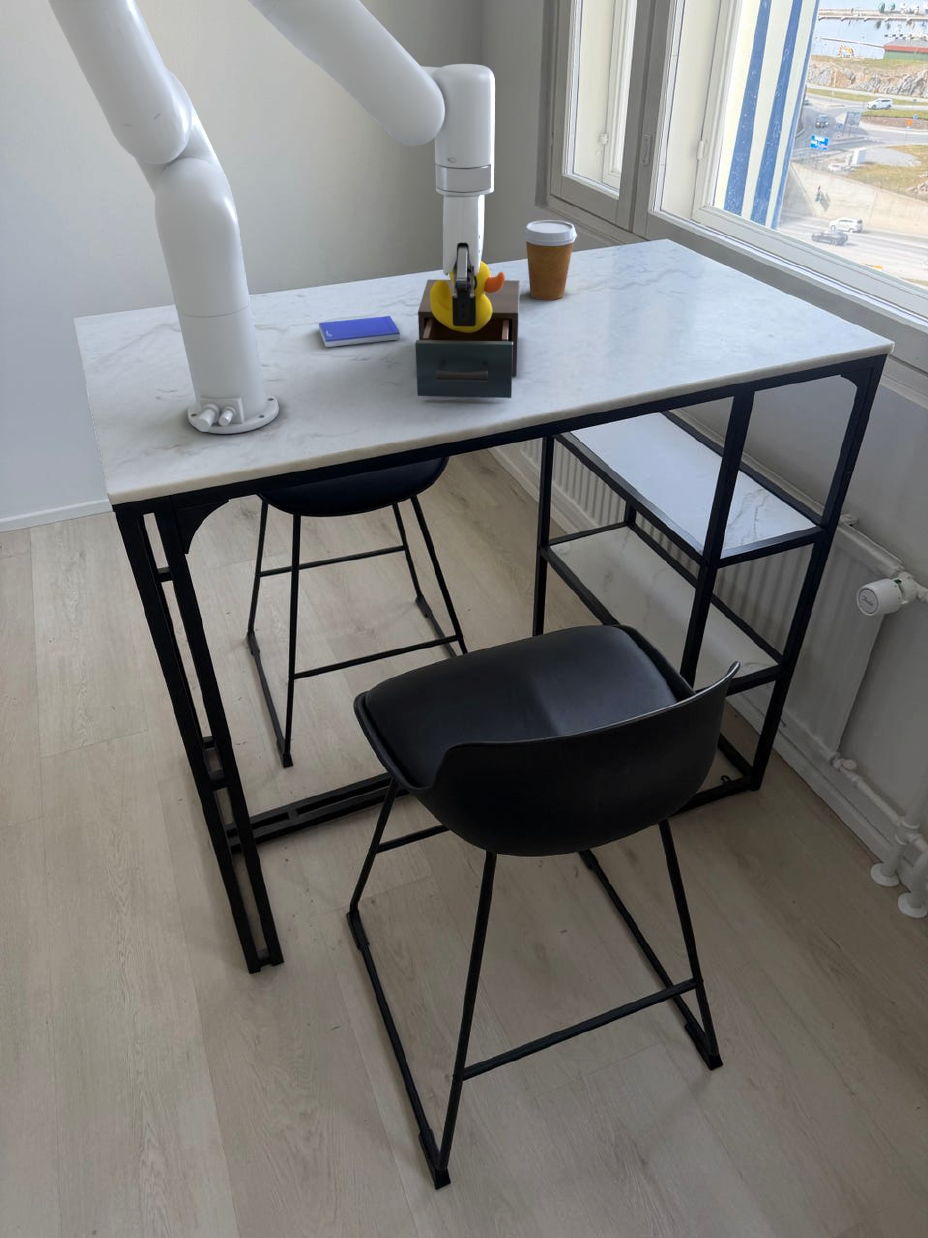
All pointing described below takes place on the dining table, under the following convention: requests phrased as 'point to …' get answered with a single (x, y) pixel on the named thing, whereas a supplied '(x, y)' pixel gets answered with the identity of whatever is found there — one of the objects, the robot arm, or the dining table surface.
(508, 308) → the cabinet
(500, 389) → the drawer
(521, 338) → the dining table surface
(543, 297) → the disposable coffee cup
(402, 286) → the dining table surface
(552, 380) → the dining table surface
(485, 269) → the duckling
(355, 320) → the hard drive
